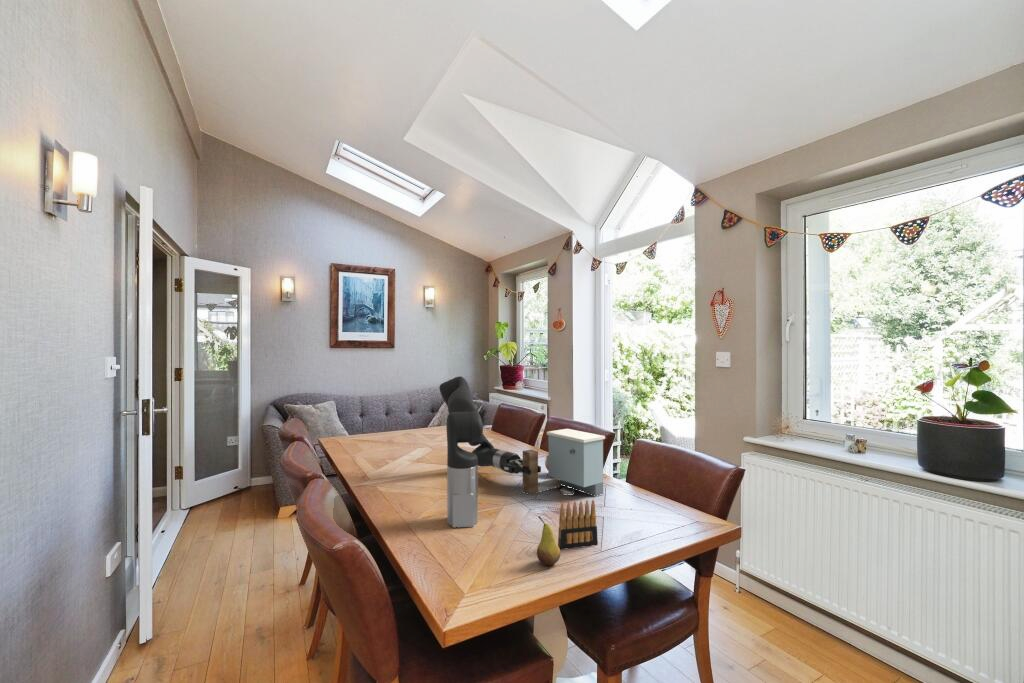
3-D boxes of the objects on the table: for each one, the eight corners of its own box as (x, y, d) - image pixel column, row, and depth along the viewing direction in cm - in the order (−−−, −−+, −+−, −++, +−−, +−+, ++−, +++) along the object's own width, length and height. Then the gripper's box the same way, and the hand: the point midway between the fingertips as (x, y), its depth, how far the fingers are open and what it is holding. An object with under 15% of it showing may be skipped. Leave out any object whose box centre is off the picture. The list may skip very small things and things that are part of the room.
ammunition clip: (595, 542, 125) (594, 498, 125) (597, 545, 123) (597, 500, 123) (557, 546, 123) (557, 501, 123) (560, 549, 121) (560, 503, 121)
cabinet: (545, 488, 173) (545, 432, 173) (567, 482, 180) (567, 428, 180) (582, 501, 158) (582, 440, 158) (605, 494, 165) (605, 436, 165)
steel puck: (576, 495, 165) (576, 491, 165) (562, 496, 164) (562, 492, 164) (572, 491, 170) (572, 487, 170) (558, 492, 169) (558, 487, 169)
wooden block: (522, 492, 168) (522, 451, 168) (553, 484, 178) (553, 445, 178) (529, 494, 165) (529, 453, 165) (561, 486, 174) (560, 447, 175)
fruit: (558, 570, 109) (558, 520, 109) (534, 567, 111) (534, 517, 111) (562, 560, 115) (562, 511, 115) (539, 557, 116) (539, 509, 116)
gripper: (491, 454, 175) (520, 463, 161) (520, 449, 183) (550, 457, 170) (491, 474, 175) (520, 484, 161) (520, 468, 183) (550, 477, 170)
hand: (535, 470), depth 166 cm, fingers closed on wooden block, 4 cm apart
